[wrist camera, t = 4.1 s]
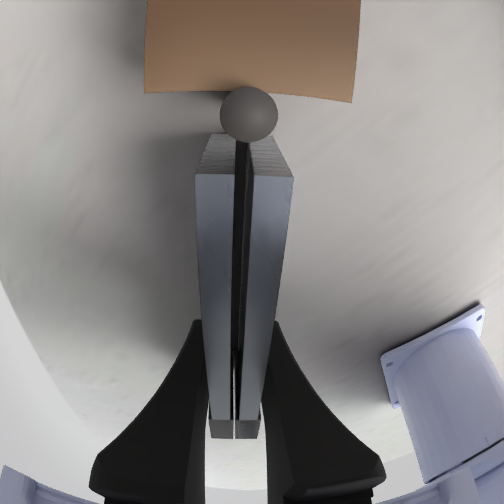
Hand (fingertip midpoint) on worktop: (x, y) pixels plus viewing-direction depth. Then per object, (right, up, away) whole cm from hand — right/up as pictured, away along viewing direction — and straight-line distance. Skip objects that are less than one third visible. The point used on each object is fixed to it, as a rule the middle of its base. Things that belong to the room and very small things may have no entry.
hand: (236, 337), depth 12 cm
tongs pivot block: (0, +10, -4) cm, 11 cm away
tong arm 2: (+1, +2, +1) cm, 2 cm away
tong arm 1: (-1, +2, +1) cm, 2 cm away
